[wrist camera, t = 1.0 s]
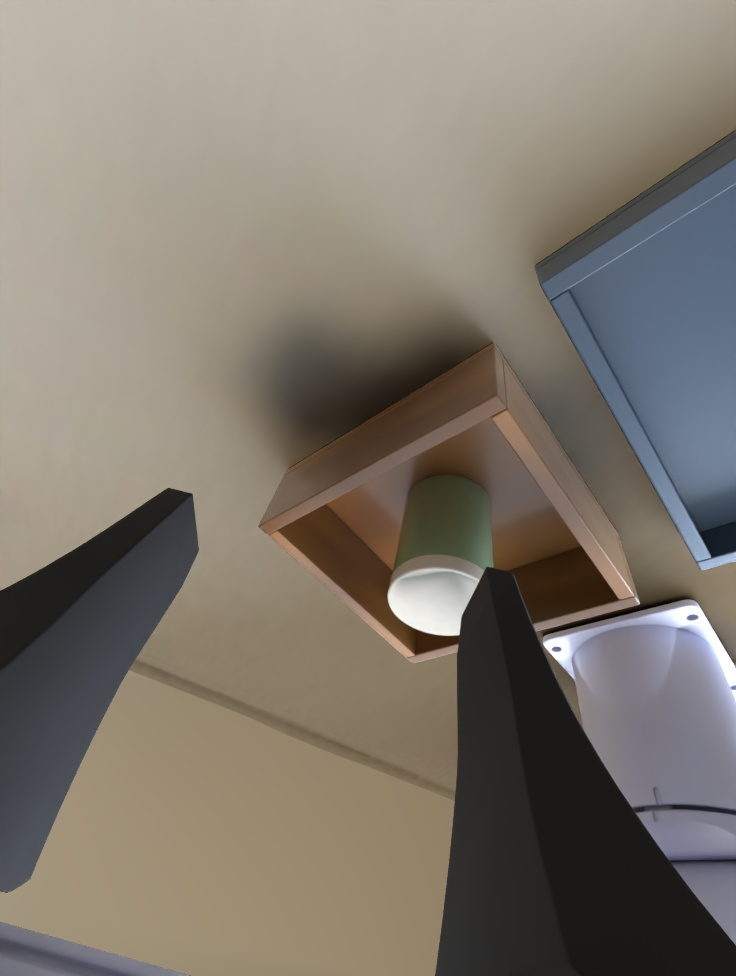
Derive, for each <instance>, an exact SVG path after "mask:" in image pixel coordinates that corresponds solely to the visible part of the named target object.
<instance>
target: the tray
mask: <svg viewBox="0 0 736 976" xmlns="http://www.w3.org/2000/svg"><path fill="white" fill-rule="evenodd" d="M535 270H536V273H537V276H538V280H539V283H540V286H541V288H542V289H543V291H544V293H545V295H546V296H547V298H548V300H549V301H550V303H551V305H552V307H553V309H554V311H555V312H556V314H557V316H558V318H559V320H560V321H561V323H562V325H563V327H564V328H565V330H566V332H567V334H568V336H569V337H570V339H571V341H572V343H573V344H574V346H575V348H576V350H577V352H578V353H579V355H580V357H581V359H582V360H583V362H584V364H585V366H586V368H587V369H588V371H589V373H590V375H591V376H592V378H593V380H594V382H595V384H596V385H597V387H598V389H599V391H600V393H601V394H602V396H603V398H604V400H605V401H606V403H607V405H608V407H609V409H610V410H611V412H612V414H613V416H614V417H615V419H616V421H617V423H618V425H619V426H620V428H621V430H622V432H623V433H624V435H625V437H626V439H627V441H628V442H629V444H630V446H631V448H632V450H633V451H634V453H635V455H636V457H637V458H638V460H639V462H640V464H641V466H642V467H643V469H644V471H645V473H646V474H647V476H648V478H649V480H650V482H651V483H652V485H653V487H654V489H655V490H656V492H657V494H658V496H659V498H660V499H661V501H662V503H663V505H664V506H665V508H666V510H667V512H668V514H669V515H670V517H671V519H672V521H673V523H674V524H675V526H676V528H677V530H678V531H679V533H680V535H681V537H682V539H683V540H684V542H685V544H686V546H687V547H688V549H689V551H690V553H691V555H692V556H693V558H694V560H695V562H696V563H697V565H698V567H699V569H700V570H705V569H709V568H712V567H716V566H720V565H723V564H727V563H730V562H734V561H736V131H734V132H733V133H731V134H730V135H728V136H727V137H725V138H724V139H722V140H721V141H719V142H718V143H716V144H715V145H713V146H712V147H710V148H709V149H707V150H706V151H704V152H703V153H701V154H700V155H699V156H697V157H696V158H694V159H693V160H691V161H690V162H688V163H687V164H685V165H684V166H682V167H681V168H679V169H678V170H676V171H675V172H673V173H672V174H670V175H669V176H667V177H666V178H664V179H663V180H661V181H660V182H659V183H657V184H656V185H654V186H653V187H651V188H650V189H648V190H647V191H645V192H644V193H642V194H641V195H639V196H638V197H636V198H635V199H633V200H632V201H630V202H629V203H627V204H626V205H624V206H623V207H622V208H620V209H619V210H617V211H616V212H614V213H613V214H611V215H610V216H608V217H607V218H605V219H604V220H602V221H601V222H599V223H598V224H596V225H595V226H593V227H592V228H590V229H589V230H587V231H586V232H584V233H583V234H582V235H580V236H579V237H577V238H576V239H574V240H573V241H571V242H570V243H568V244H567V245H565V246H564V247H562V248H561V249H559V250H558V251H556V252H555V253H553V254H552V255H550V256H549V257H547V258H546V259H544V260H543V261H542V262H540V263H539V264H537V265H536V266H535Z"/></svg>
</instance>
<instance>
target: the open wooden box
mask: <svg viewBox="0 0 736 976" xmlns="http://www.w3.org/2000/svg"><path fill="white" fill-rule="evenodd" d="M437 475H457V476H461V477H465V478H467V479H470V480H472V481H474V482H475V483H477V484H479V485H480V486H481V487H482V488H483V489H484V490H485V491H486V492H487V494H488V495H489V497H490V499H491V502H492V509H493V539H494V568H495V569H499V570H503V571H507V572H511V573H513V575H514V576H515V579H516V581H517V584H518V587H519V590H520V592H521V595H522V598H523V600H524V603H525V606H526V608H527V611H528V613H529V616H530V618H531V621H532V623H533V626H534V628H535V631H540V630H544V629H548V628H551V627H555V626H559V625H563V624H567V623H571V622H575V621H578V620H582V619H586V618H590V617H594V616H598V615H602V614H605V613H609V612H613V611H617V610H621V609H625V608H629V607H633V606H636V605H639V604H640V601H639V598H638V595H637V592H636V588H635V585H634V582H633V579H632V576H631V573H630V569H629V566H628V563H627V560H626V557H625V554H624V550H623V547H622V544H621V542H620V538H619V534H618V533H617V531H616V530H615V528H614V527H613V525H612V524H611V522H610V521H609V519H608V517H607V516H606V514H605V513H604V511H603V510H602V508H601V507H600V505H599V503H598V502H597V500H596V499H595V497H594V496H593V494H592V493H591V491H590V490H589V488H588V486H587V485H586V483H585V482H584V480H583V479H582V477H581V476H580V474H579V473H578V471H577V469H576V468H575V466H574V465H573V463H572V462H571V460H570V459H569V457H568V455H567V454H566V452H565V451H564V449H563V448H562V446H561V445H560V443H559V442H558V440H557V438H556V437H555V435H554V434H553V432H552V431H551V429H550V428H549V426H548V425H547V423H546V421H545V420H544V418H543V417H542V415H541V414H540V412H539V411H538V409H537V408H536V406H535V404H534V403H533V401H532V400H531V398H530V397H529V395H528V394H527V392H526V390H525V389H524V387H523V386H522V384H521V383H520V381H519V380H518V378H517V377H516V375H515V373H514V372H513V370H512V369H511V367H510V366H509V364H508V363H507V361H506V360H505V358H504V356H503V355H502V353H501V352H500V350H499V349H498V347H497V346H496V344H495V343H492V344H490V345H489V346H487V347H486V348H484V349H482V350H481V351H479V352H477V353H476V354H474V355H473V356H471V357H469V358H468V359H466V360H465V361H463V362H461V363H460V364H458V365H456V366H455V367H453V368H452V369H450V370H448V371H447V372H445V373H443V374H442V375H440V376H439V377H437V378H435V379H434V380H432V381H430V382H429V383H427V384H426V385H424V386H422V387H421V388H419V389H418V390H416V391H414V392H413V393H411V394H409V395H408V396H406V397H405V398H403V399H401V400H400V401H398V402H396V403H395V404H393V405H392V406H390V407H388V408H387V409H385V410H384V411H382V412H380V413H379V414H377V415H375V416H374V417H372V418H371V419H369V420H367V421H366V422H364V423H362V424H361V425H359V426H358V427H356V428H354V429H353V430H351V431H349V432H348V433H346V434H345V435H343V436H341V437H340V438H338V439H337V440H335V441H333V442H332V443H330V444H328V445H327V446H325V447H324V448H322V449H320V450H319V451H317V452H315V453H314V454H312V455H311V456H309V457H307V458H306V459H304V460H302V461H301V462H299V463H298V464H296V465H294V466H293V467H291V468H290V469H288V470H287V471H286V473H285V475H284V477H283V479H282V481H281V483H280V485H279V487H278V489H277V491H276V493H275V495H274V497H273V499H272V500H271V502H270V504H269V506H268V508H267V510H266V512H265V514H264V516H263V518H262V520H261V522H260V524H259V528H261V529H262V530H263V531H264V532H265V533H266V534H269V537H271V538H272V539H273V540H274V541H275V542H276V543H277V544H278V545H280V546H281V547H282V548H283V549H284V550H285V551H286V552H287V553H289V554H290V555H291V556H292V557H293V558H294V559H295V560H296V561H298V562H299V563H300V564H301V565H302V566H303V567H304V568H305V569H307V570H308V571H309V572H310V573H311V574H312V575H313V576H314V577H316V578H317V579H318V580H319V581H320V582H321V583H322V584H324V585H325V586H326V587H327V588H328V589H329V590H330V591H331V592H333V593H334V594H335V595H336V596H337V597H338V598H339V599H340V600H342V601H343V602H344V603H345V604H346V605H347V606H348V607H349V608H351V609H352V610H353V611H354V612H355V613H356V614H357V615H358V616H360V617H361V618H362V619H363V620H364V621H365V622H366V623H367V624H369V625H370V626H371V627H372V628H373V629H374V630H375V631H376V632H378V633H379V634H380V635H381V636H382V637H383V638H384V639H385V640H387V641H388V642H389V643H390V644H391V645H392V646H393V647H395V648H396V649H397V650H398V651H399V652H400V653H401V654H402V655H404V656H405V657H407V659H408V660H409V661H411V662H412V663H416V662H420V661H424V660H428V659H432V658H436V657H439V656H443V655H447V654H451V653H455V652H458V644H459V635H454V636H444V635H435V634H430V633H426V632H423V631H420V630H417V629H415V628H413V627H411V626H409V625H407V624H406V623H404V622H403V621H401V620H400V619H399V618H398V617H397V616H396V615H395V614H394V613H393V611H392V610H391V608H390V606H389V603H388V597H387V594H388V587H389V582H390V578H391V576H392V573H393V567H394V562H395V556H396V551H397V545H398V540H399V534H400V529H401V523H402V518H403V512H404V507H405V501H406V498H407V495H408V493H409V492H410V490H411V489H412V488H413V487H414V486H415V485H416V484H417V483H419V482H420V481H422V480H424V479H426V478H429V477H432V476H437Z"/></svg>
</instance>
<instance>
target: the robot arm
mask: <svg viewBox="0 0 736 976" xmlns="http://www.w3.org/2000/svg"><path fill="white" fill-rule="evenodd" d="M198 551H199V547H198V538H197V529H196V521H195V512H194V503H193V494H191V493H187V492H183V491H179V490H175V489H171V488H167V489H166V490H164V491H163V492H161V493H160V494H158V495H157V496H155V497H153V498H152V499H151V500H149V501H148V502H146V503H145V504H143V505H142V506H140V507H139V508H137V509H136V510H134V511H133V512H131V513H130V514H128V515H127V516H125V517H124V518H122V519H121V520H119V521H118V522H116V523H115V524H113V525H112V526H110V527H109V528H107V529H106V530H104V531H103V532H101V533H100V534H98V535H96V536H95V537H93V538H92V539H90V540H89V541H87V542H86V543H84V544H82V545H81V546H79V547H78V548H76V549H74V550H73V551H71V552H69V553H68V554H66V555H64V556H62V557H61V558H59V559H57V560H56V561H54V562H52V563H51V564H49V565H47V566H46V567H44V568H42V569H40V570H39V571H37V572H35V573H33V574H31V575H30V576H28V577H26V578H24V579H22V580H20V581H19V582H17V583H15V584H13V585H11V586H9V587H7V588H5V589H3V590H1V591H0V891H1V892H5V893H8V892H10V891H13V890H14V889H16V888H18V887H19V886H21V885H22V884H24V883H25V882H27V881H28V880H29V879H30V878H31V876H32V873H33V871H34V868H35V865H36V863H37V861H38V858H39V856H40V854H41V851H42V849H43V847H44V844H45V842H46V840H47V837H48V835H49V833H50V830H51V828H52V826H53V823H54V821H55V819H56V816H57V814H58V812H59V809H60V807H61V805H62V803H63V801H64V798H65V796H66V794H67V792H68V790H69V787H70V785H71V783H72V781H73V779H74V777H75V775H76V772H77V770H78V768H79V766H80V764H81V762H82V760H83V758H84V755H85V753H86V751H87V749H88V747H89V745H90V743H91V741H92V739H93V737H94V735H95V733H96V731H97V729H98V727H99V725H100V723H101V721H102V719H103V717H104V715H105V713H106V711H107V709H108V707H109V705H110V703H111V701H112V699H113V697H114V695H115V693H116V692H117V689H118V688H119V685H120V684H121V682H122V680H123V679H124V677H125V675H126V674H127V672H128V670H129V669H130V667H131V665H132V664H133V662H134V661H135V659H136V657H137V656H138V654H139V653H140V651H141V650H142V648H143V647H144V645H145V643H146V642H147V640H148V639H149V637H150V636H151V634H152V633H153V631H154V629H155V628H156V626H157V625H158V623H159V622H160V620H161V619H162V617H163V615H164V614H165V612H166V611H167V609H168V608H169V606H170V604H171V603H172V601H173V600H174V598H175V597H176V595H177V593H178V592H179V590H180V588H181V587H182V585H183V583H184V581H185V579H186V577H187V575H188V573H189V571H190V568H191V566H192V564H193V562H194V560H195V558H196V555H197V553H198ZM543 645H544V646H545V648H546V649H547V650H548V651H549V652H550V653H551V654H552V655H553V657H554V658H555V659H556V660H557V661H558V662H559V663H560V665H561V666H562V667H563V668H564V669H565V670H566V671H567V672H568V674H569V675H570V676H571V677H572V678H573V679H574V680H575V684H576V690H577V696H578V702H579V708H580V714H581V720H582V726H581V724H580V722H579V720H578V718H577V717H576V715H575V713H574V711H573V709H572V707H571V705H570V703H569V701H568V699H567V697H566V695H565V693H564V691H563V690H562V688H561V686H560V684H559V681H558V679H557V677H556V675H555V673H554V671H553V669H552V667H551V664H550V662H549V660H548V658H547V656H546V653H545V651H544V649H543V647H542V645H541V642H540V640H539V638H538V635H537V633H536V631H535V628H534V626H533V623H532V621H531V618H530V616H529V613H528V611H527V608H526V606H525V603H524V600H523V598H522V595H521V592H520V590H519V587H518V584H517V581H516V579H515V576H514V575H513V573H511V572H507V571H503V570H499V569H495V568H491V567H486V569H485V571H484V573H483V575H482V577H481V579H480V581H479V583H478V585H477V587H476V589H475V591H474V593H473V595H472V596H471V598H470V600H469V602H468V604H467V606H466V608H465V610H464V612H463V614H462V617H461V626H460V634H459V644H458V654H457V710H458V765H457V782H456V794H455V807H454V817H453V828H452V838H451V848H450V859H449V868H448V877H447V887H446V895H445V903H444V913H443V920H442V928H441V936H440V943H439V951H438V959H437V966H436V974H435V976H736V667H735V665H734V663H733V662H732V660H731V658H730V657H729V655H728V653H727V652H726V650H725V648H724V647H723V645H722V643H721V642H720V640H719V638H718V637H717V635H716V633H715V631H714V630H713V628H712V626H711V625H710V623H709V621H708V620H707V618H706V616H705V615H704V613H703V611H702V610H701V608H700V606H699V604H698V603H697V602H696V601H693V600H682V601H678V602H674V603H670V604H666V605H662V606H658V607H654V608H650V609H646V610H642V611H638V612H634V613H630V614H626V615H622V616H618V617H614V618H610V619H606V620H602V621H598V622H594V623H590V624H586V625H583V626H579V627H575V628H571V629H567V630H563V631H559V632H555V633H551V634H547V635H545V636H544V637H543ZM582 727H583V728H582ZM0 976H190V975H187V974H183V973H179V972H176V971H172V970H169V969H165V968H162V967H158V966H155V965H151V964H148V963H144V962H140V961H137V960H133V959H130V958H126V957H122V956H119V955H116V954H112V953H109V952H105V951H102V950H98V949H95V948H91V947H87V946H84V945H80V944H77V943H73V942H69V941H66V940H63V939H59V938H56V937H52V936H48V935H45V934H41V933H38V932H34V931H31V930H27V929H24V928H20V927H17V926H13V925H10V924H6V923H2V922H0Z"/></svg>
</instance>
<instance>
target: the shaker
mask: <svg viewBox="0 0 736 976" xmlns="http://www.w3.org/2000/svg"><path fill="white" fill-rule="evenodd" d="M486 567H491V568H494V539H493V509H492V502H491V499H490V497H489V495H488V494H487V492H486V491H485V490H484V489H483V488H482V487H481V486H480V485H479V484H477V483H475V482H474V481H472V480H470V479H467V478H465V477H461V476H457V475H437V476H432V477H429V478H426V479H424V480H422V481H420V482H419V483H417V484H416V485H415V486H414V487H413V488H412V489H411V490H410V492H409V493H408V495H407V498H406V501H405V507H404V512H403V518H402V523H401V529H400V534H399V540H398V545H397V551H396V556H395V562H394V567H393V573H392V576H391V578H390V582H389V587H388V594H387V597H388V603H389V606H390V608H391V610H392V611H393V613H394V614H395V615H396V616H397V617H398V618H399V619H400V620H401V621H403V622H404V623H406V624H407V625H409V626H411V627H413V628H415V629H417V630H420V631H423V632H426V633H430V634H435V635H444V636H454V635H459V634H460V626H461V617H462V614H463V612H464V610H465V608H466V606H467V604H468V602H469V600H470V598H471V596H472V595H473V593H474V591H475V589H476V587H477V585H478V583H479V581H480V579H481V577H482V575H483V573H484V571H485V569H486Z"/></svg>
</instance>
